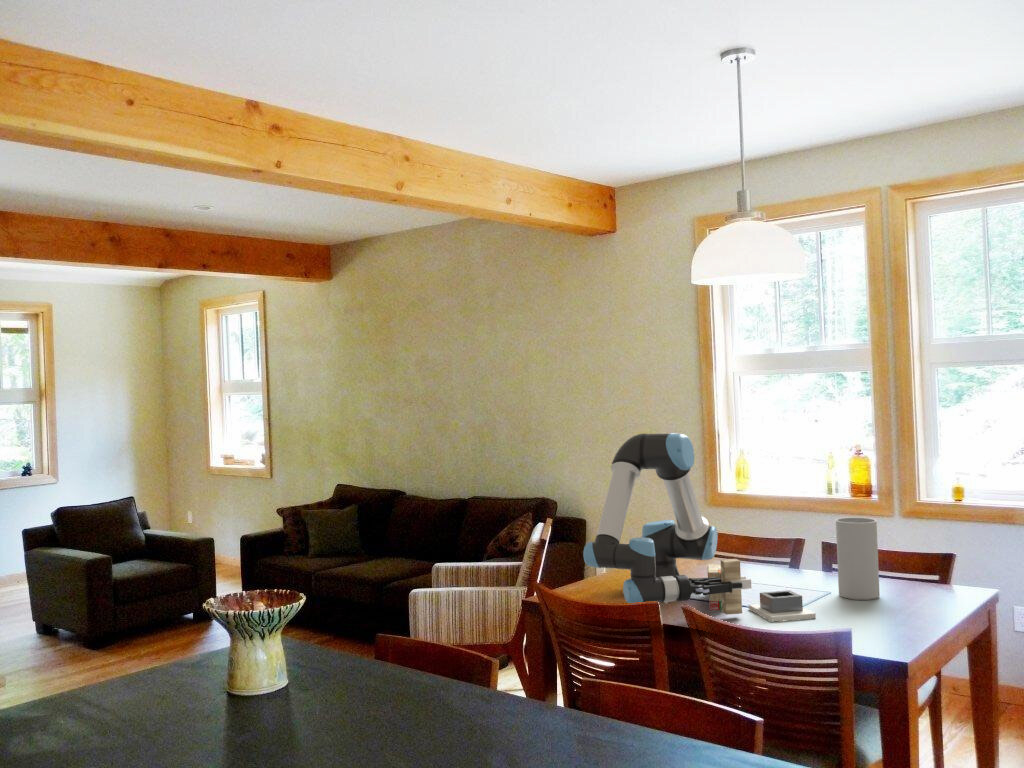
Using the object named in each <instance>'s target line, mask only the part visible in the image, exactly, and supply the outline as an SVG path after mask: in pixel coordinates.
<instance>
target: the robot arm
mask: <svg viewBox="0 0 1024 768" xmlns="http://www.w3.org/2000/svg"><path fill="white" fill-rule="evenodd" d="M694 462H695V453H694V445H693V443H692V441H691V439H690V438H689V437H688V435H686V434H684V433H676V432H671V433H639V434H636V435H633V436H631V437H629V438H628V439H627V440H626V441H624V443H623V444H622V445H621V446H620V447H619V449H618V450H617V451H616V453H615V455H614V457H613V459H612V463H611V466H610V471H611V472H612V475H611V479H610V482H609V486H608V490H607V494H606V497H605V502H604V504H603V508H602V511H601V512H602V513H601V517H600V520H599V525H598V528H597V532H596V534H595V535H596V536H595V539H594V541H589V542H586V544H585V545H584V547H583V553H582V554H583V560H584V563H585V564H586V566H588V567H592V568H597V569H601V568H603V569H604V568H605V569H617V570H619V569H620V570H629V571H630V578H628V579H625V580H624V581H623V587H622V589H623V590H622V591H623V597H624V600H625V602H626V604H628V603H635V602H646V601H658V602H659V603H664V604H666V605H668V603H669V602H671V603H672V602H676V601H677V602H684V601H689V600H690V599H691V597H692V594H695V595H697V596H698V595H699V596H701V595H702V596H704V597H705V596H709V595H710V594H718V593H727V592H730V593H732V590H738V589H741V590H748V589H752V579H751V578H747V576H741V580H731V581H729V582H721V578H720V577H709V578H708V577H695V578H694V577H693V578H692V577H688V575H686V574H680V572H679V569H678V566H677V559H683V560H696V561H697V560H698V561H706V560H707V561H708V560H709V561H710V560H712V559H713V558H714V557H715V555H716V552H717V546H718V538H719V537H718V530H717V527H716V526H713V525H711V526H710V525H709V522H708V520H707V519H706V518H705V517H704V516H702V513H701V510H700V507H699V504H698V500H697V497H696V493H695V489H694V487H693V486H694V485H693V482H692V480H691V477H690V471H691V468H692V467H693V466H694ZM642 470H655V472H656V475H657V477H658V478H659V479H661V480H662V481H663V482H664V485H665V489H666V491H667V492H666V493H667V496H668V499H669V501H670V504H671V508H672V511H673V513H674V517H675V519H676V520H674V519H663V520H656V521H651V522H647V523H645V524H643V526H642V529H641V530H642V531H641V533H642V534H641V537H632V538H630V539H629V542H628V543H620V542H621V537H622V533H623V529H624V525H625V520H626V517H627V515H628V514H627V513H628V509H629V506H630V502H631V497H632V495H633V489H634V486H635V481H636V479H638V478H639V477H640V475H641V472H642ZM675 521H676V522H675Z"/></svg>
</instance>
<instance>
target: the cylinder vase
mask: <svg viewBox="0 0 1024 768" xmlns="http://www.w3.org/2000/svg"><path fill="white" fill-rule="evenodd" d="M877 524H878V522H877V519H875V518H871V517H852V516H851V517H840V518H836V519H835V533H836V537H835V538H836V555H837V556H836V559H837V561H836V562H837V579H838V580H837V582H838V583H837V584H838V595H839V596H840V597H842V598H843V599H847V598H848V600H854V601H871V600H877V599H878V598H879V597H880V596H881V595H880V593H881V592H880V576H879V575H880V574H879V573H880V572H879V571H880V570H879V551H878V550H879V548H878V547H879V546H878V525H877Z"/></svg>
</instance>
